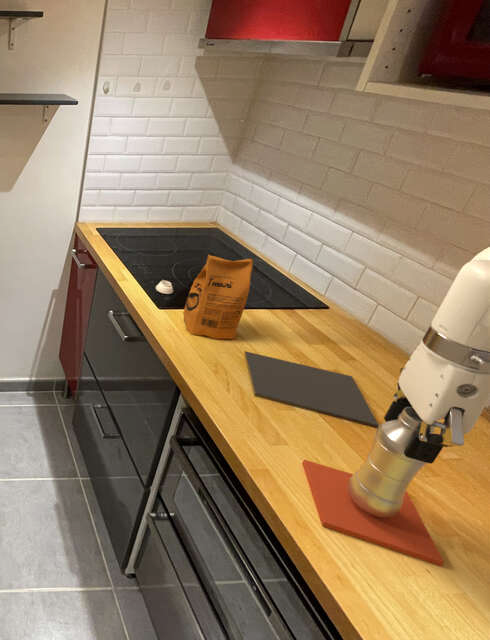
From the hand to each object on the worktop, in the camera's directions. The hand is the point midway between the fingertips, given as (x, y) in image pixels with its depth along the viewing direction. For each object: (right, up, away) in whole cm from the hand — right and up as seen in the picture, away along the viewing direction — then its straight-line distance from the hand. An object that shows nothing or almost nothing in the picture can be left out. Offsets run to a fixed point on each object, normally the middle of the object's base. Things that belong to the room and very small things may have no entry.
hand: (406, 439), depth 69 cm
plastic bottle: (0, -14, +6) cm, 15 cm away
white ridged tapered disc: (-4, +15, +72) cm, 73 cm away
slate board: (+10, -3, +33) cm, 35 cm away
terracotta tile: (0, -15, +7) cm, 16 cm away
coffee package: (-1, +6, +54) cm, 54 cm away
